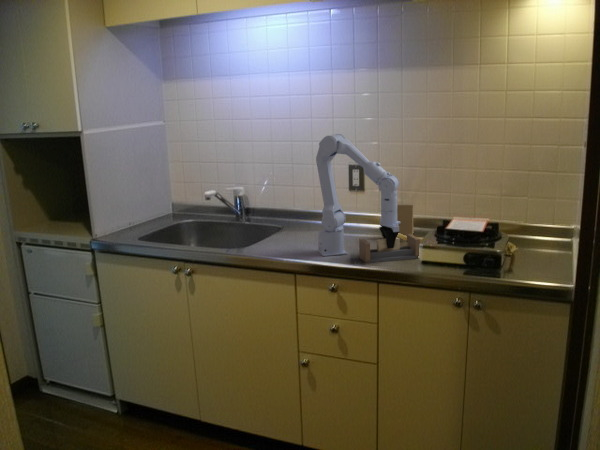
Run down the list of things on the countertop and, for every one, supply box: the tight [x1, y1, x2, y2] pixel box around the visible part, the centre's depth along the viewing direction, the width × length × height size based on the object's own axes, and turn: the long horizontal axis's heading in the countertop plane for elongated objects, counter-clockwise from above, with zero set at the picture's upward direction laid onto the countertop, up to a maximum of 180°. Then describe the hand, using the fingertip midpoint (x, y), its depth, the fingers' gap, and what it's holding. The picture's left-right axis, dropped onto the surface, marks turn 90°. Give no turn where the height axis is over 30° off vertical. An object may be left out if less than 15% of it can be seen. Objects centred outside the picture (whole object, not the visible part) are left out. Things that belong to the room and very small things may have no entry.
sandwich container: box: [396, 203, 415, 242], centre depth 235 cm, size 9×15×15 cm, turn 167°
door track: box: [358, 234, 421, 264], centre depth 205 cm, size 20×8×7 cm, turn 101°
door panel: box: [376, 237, 401, 252], centre depth 205 cm, size 8×2×6 cm, turn 101°
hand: (389, 247), depth 205 cm, fingers closed on door panel, 2 cm apart
